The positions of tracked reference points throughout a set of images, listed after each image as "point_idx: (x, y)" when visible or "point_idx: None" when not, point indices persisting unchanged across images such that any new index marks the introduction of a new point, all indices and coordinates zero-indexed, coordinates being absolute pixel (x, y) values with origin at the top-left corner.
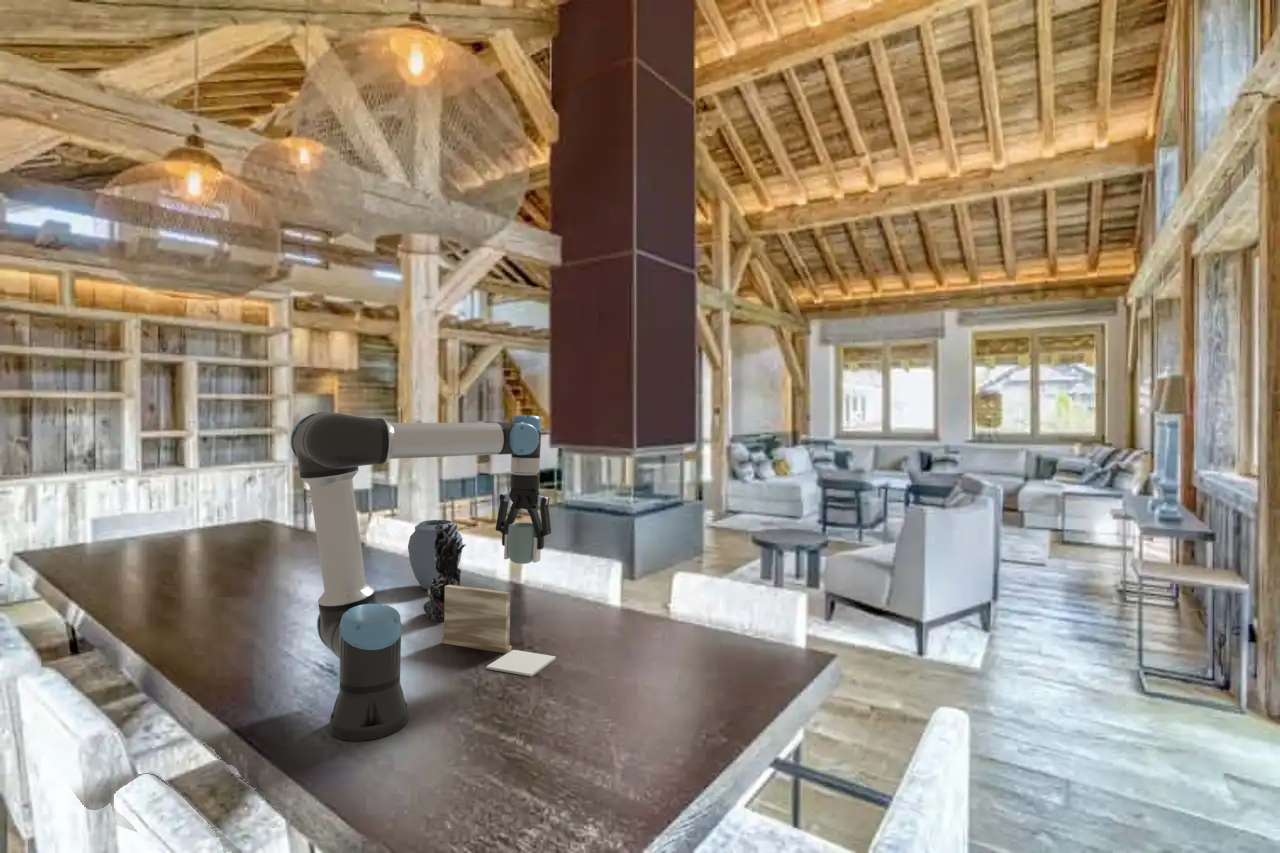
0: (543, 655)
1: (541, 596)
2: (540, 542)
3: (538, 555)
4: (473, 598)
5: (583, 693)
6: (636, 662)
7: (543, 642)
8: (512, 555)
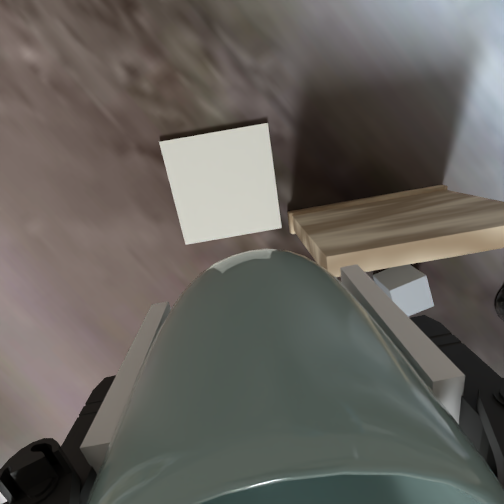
0: (209, 235)
1: None
2: (79, 424)
3: None
4: (433, 227)
5: (15, 130)
6: (53, 307)
7: None
8: (272, 250)
